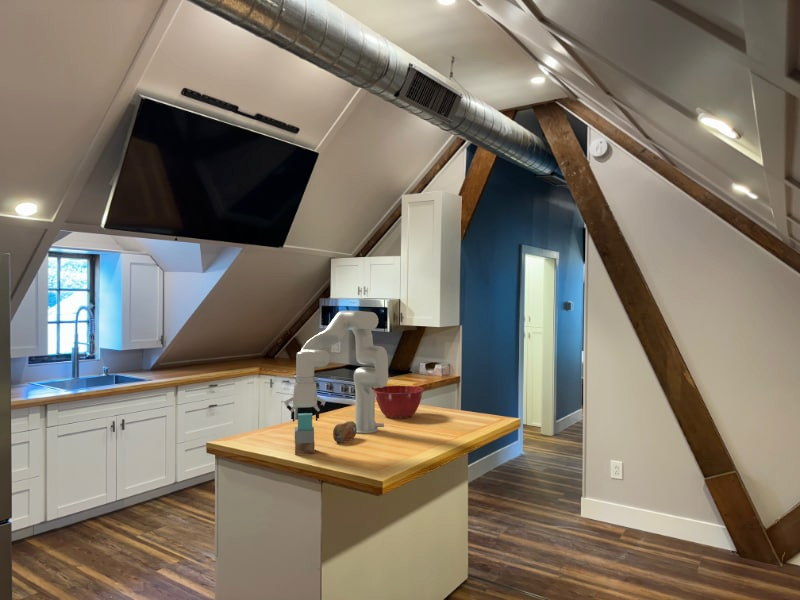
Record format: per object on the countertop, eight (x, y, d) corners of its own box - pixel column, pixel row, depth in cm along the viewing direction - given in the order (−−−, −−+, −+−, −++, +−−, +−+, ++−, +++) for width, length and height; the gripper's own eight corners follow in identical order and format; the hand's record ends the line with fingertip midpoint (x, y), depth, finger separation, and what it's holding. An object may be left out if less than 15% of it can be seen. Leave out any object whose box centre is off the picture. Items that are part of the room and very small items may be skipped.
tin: (337, 444, 253) (337, 425, 254) (331, 443, 255) (331, 424, 255) (357, 437, 266) (357, 420, 266) (351, 437, 268) (351, 419, 268)
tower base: (313, 449, 245) (313, 438, 245) (314, 454, 237) (314, 442, 237) (295, 450, 243) (295, 438, 243) (295, 455, 236) (295, 443, 236)
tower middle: (313, 438, 245) (313, 426, 245) (314, 442, 237) (314, 430, 237) (294, 438, 243) (294, 427, 243) (294, 443, 235) (294, 431, 236)
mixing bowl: (367, 420, 306) (367, 391, 306) (380, 410, 334) (380, 384, 334) (418, 422, 300) (418, 393, 300) (427, 412, 328) (427, 386, 328)
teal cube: (312, 427, 244) (312, 413, 244) (312, 430, 238) (312, 415, 238) (297, 427, 243) (297, 413, 243) (297, 430, 237) (297, 416, 237)
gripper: (325, 378, 245) (325, 418, 245) (284, 379, 243) (284, 419, 243) (325, 381, 238) (325, 421, 238) (284, 382, 235) (284, 423, 235)
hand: (305, 420), depth 240 cm, fingers open, 9 cm apart
